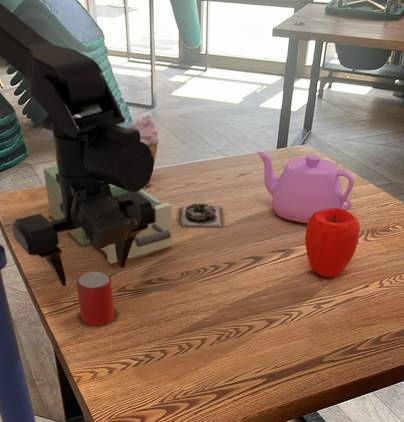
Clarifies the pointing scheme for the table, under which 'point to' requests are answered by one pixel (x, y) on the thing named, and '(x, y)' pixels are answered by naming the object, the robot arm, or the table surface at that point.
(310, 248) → the apple
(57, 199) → the cabinet
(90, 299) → the can
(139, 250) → the drawer
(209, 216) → the donut
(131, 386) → the table surface
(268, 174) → the teapot
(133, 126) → the ice cream cone
